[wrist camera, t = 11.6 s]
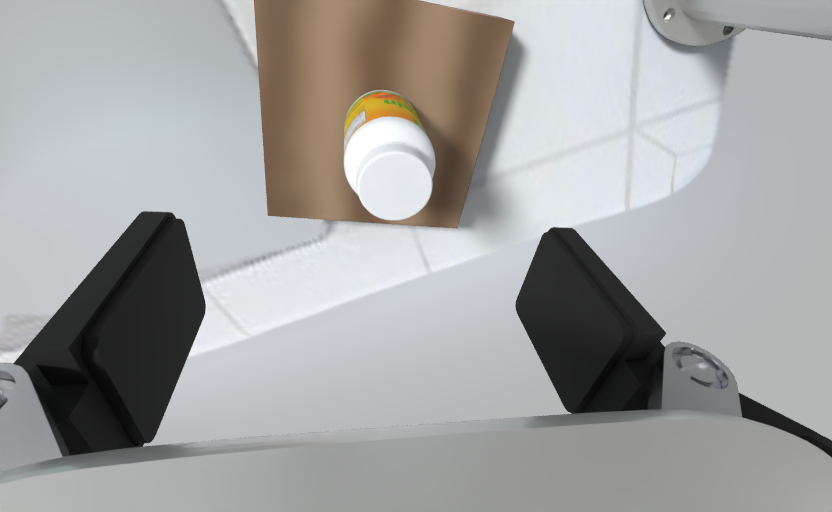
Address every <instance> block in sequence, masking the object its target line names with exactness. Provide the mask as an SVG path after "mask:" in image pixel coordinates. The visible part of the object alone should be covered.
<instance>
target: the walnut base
mask: <svg viewBox="0 0 832 512" xmlns="http://www.w3.org/2000/svg"><path fill="white" fill-rule="evenodd" d="M254 8H255V24H256V39H257V55H258V70H259V86H260V101H261V115H262V132H263V146H264V162H265V177H266V193H267V209H268V216H280V217H296V218H311V219H325V220H340V221H355V222H370V223H384V224H399V225H414V226H429V227H444V228H458V224H459V220H460V217H461V213H462V210H463V206H464V202H465V199H466V195H467V192H468V188H469V184H470V181H471V177H472V174H473V170H474V166H475V163H476V159H477V156H478V152H479V149H480V145H481V141H482V138H483V134H484V131H485V127H486V123H487V120H488V116H489V113H490V109H491V105H492V102H493V98H494V95H495V91H496V87H497V84H498V80H499V77H500V73H501V70H502V66H503V62H504V59H505V55H506V52H507V48H508V44H509V41H510V37H511V34H512V30H513V26H514V23H515V22H514V21H511V20H508V19H504V18H501V17H496V16H491V15H487V14H482V13H477V12H472V11H467V10H462V9H458V8H453V7H448V6H443V5H438V4H433V3H428V2H424V1H419V0H254ZM375 90H388V91H392V92H395V93H398V94H400V95H401V96H403V97H404V98H405V99H407V100H408V101H409V102H410V104H411V105H412V106H413V108H414V109H415V111H416V113H417V115H418V117H419V119H420V121H421V123H422V126H423V128H424V130H425V132H426V134H427V136H428V138H429V140H430V142H431V144H432V147H433V150H434V154H435V171H434V175H433V178H432V182H433V187H432V193H431V196H430V198H429V200H428V202H427V204H426V205H425V206H424V207H423V208H422V209H421V210H420V211H419V212H418V213H416V214H415V215H413V216H411V217H409V218H406V219H403V220H384V219H381V218H379V217H376V216H374V215H373V214H371V213H370V212H369V211H368V210H367V209H366V208H365V207H364V206H363V204H362V203H361V201H360V199H359V196H358V195H357V194H356V193H355V191H354V190H353V189H352V187H351V186H350V184H349V182H348V180H347V178H346V174H345V170H344V127H345V119H346V116H347V113H348V111H349V109H350V107H351V106H352V105H353V103H354V102H355V101H356V100H357V99H358V98H359V97H361V96H362V95H364V94H366V93H368V92H371V91H375Z"/></svg>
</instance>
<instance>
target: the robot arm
mask: <svg viewBox="0 0 832 512" xmlns="http://www.w3.org/2000/svg"><path fill="white" fill-rule="evenodd" d="M644 5H645V9H646V11H647V14H648V16H649V19H650V21H651V23H652V24H653V25H654V27H655V28H656V30H657V31H658V32H659V33H660V34H662V35H663V36H664V37H666V38H667V39H669V40H671V41H674V42H677V43H680V44H686V45H691V46H702V45H710V44H714V43H718V42H721V41H724V40H726V39H728V38H730V37H733V36H735V35H737V34H739V33H740V32H742V31H743V30H745V29H746V28H748V29H754V30H761V31H768V32H775V33H782V34H790V35H797V36H805V37H811V38H818V39H825V40H832V0H644ZM205 308H206V305H205V299H204V295H203V292H202V288H201V284H200V280H199V276H198V273H197V269H196V265H195V261H194V258H193V254H192V250H191V246H190V242H189V239H188V235H187V231H186V227H185V224H184V222H183V220H182V219H176V218H175V216H174V215H173V213H170V212H141V213H140V214H139V215H138V216H137V218H136V219H135V220H134V221H133V222H132V223H131V225H130V226H129V227H128V228H127V229H126V231H125V232H124V233H123V234H122V235H121V236H120V238H119V239H118V240H117V241H116V242H115V244H114V245H113V246H112V247H111V248H110V249H109V251H108V252H107V253H106V254H105V255H104V257H103V258H102V259H101V260H100V261H99V262H98V264H97V265H96V266H95V267H94V268H93V270H92V271H91V272H90V273H89V274H88V275H87V277H86V278H85V279H84V280H83V281H82V283H81V284H80V285H79V286H78V288H77V289H76V290H75V291H74V292H73V293H72V294H71V296H70V297H69V298H68V299H67V301H66V302H65V303H64V304H63V305H62V306H61V308H60V309H59V310H58V311H57V312H56V313H55V315H54V316H53V317H52V318H51V319H50V320H49V322H48V323H47V324H46V325H45V326H44V328H43V329H42V330H41V331H40V332H39V333H38V335H37V336H36V337H35V338H34V339H33V341H32V342H31V343H30V344H29V345H28V346H27V348H26V349H25V351H24V352H23V353H22V354H21V355H20V356H19V358H18V359H17V360H16V361H15V362H14V364H12V363H0V512H832V441H831V440H830V439H828V438H826V437H823V436H821V435H820V434H818V433H817V432H815V431H813V430H811V429H809V428H807V427H805V426H803V425H801V424H799V423H797V422H795V421H793V420H791V419H789V418H787V417H785V416H784V415H782V414H780V413H778V412H776V411H774V410H772V409H770V408H768V407H766V406H764V405H762V404H760V403H758V402H756V401H754V400H752V399H750V398H748V397H746V396H744V395H742V394H740V393H738V387H737V382H736V380H735V377H734V376H733V374H732V372H731V371H730V370H729V368H728V367H727V366H726V365H725V364H724V363H722V361H720V360H719V359H718V358H717V357H715V356H714V355H712V354H711V353H710V352H708V351H706V350H704V349H702V348H700V347H698V346H695V345H693V344H689V343H685V342H672V343H670V344H668V345H667V346H666V347H664V346H663V345H662V343H661V342H660V341H661V340H662V338H663V337H664V336H665V334H666V332H665V331H664V330H663V329H662V328H661V327H660V325H659V324H658V323H657V322H656V321H655V320H654V319H653V318H652V316H651V315H650V314H649V313H648V312H647V311H646V310H645V309H644V308H643V306H642V305H641V304H640V303H639V302H638V301H637V300H636V299H635V298H634V296H633V295H632V294H631V293H630V292H629V291H628V289H627V288H626V287H625V286H624V285H623V284H622V283H621V282H620V280H619V279H618V278H617V277H616V276H615V275H614V274H613V273H612V271H611V270H610V269H609V268H608V267H607V266H606V265H605V263H604V262H603V261H602V260H601V259H600V258H599V257H598V256H597V254H596V253H595V252H594V251H593V250H592V249H591V248H590V247H589V245H588V244H587V243H586V242H585V241H584V240H583V239H582V238H581V236H580V235H579V234H578V233H577V232H576V231H575V230H574V229H573V228H556V227H553V228H551V229H550V230H549V231H548V232H546V233H544V234H543V235H542V237H541V240H540V243H539V245H538V247H537V250H536V252H535V255H534V257H533V260H532V262H531V265H530V268H529V270H528V273H527V275H526V277H525V280H524V283H523V285H522V287H521V290H520V293H519V295H518V297H517V300H516V311H517V314H518V316H519V318H520V320H521V322H522V324H523V326H524V328H525V330H526V332H527V334H528V336H529V338H530V340H531V342H532V344H533V345H534V348H535V350H536V351H537V354H538V356H539V357H540V360H541V361H542V363H543V366H544V367H545V370H546V371H547V373H548V375H549V377H550V379H551V381H552V383H553V385H554V387H555V389H556V391H557V393H558V395H559V397H560V399H561V401H562V403H563V405H564V407H565V409H566V410H567V411H568V412H570V413H572V414H566V415H565V414H564V415H549V416H534V417H520V418H505V419H490V420H476V421H462V422H448V423H435V424H434V423H433V424H420V425H406V426H394V427H393V426H392V427H379V428H365V429H351V430H339V431H325V432H313V433H300V434H287V435H274V436H260V437H248V438H235V439H222V440H211V441H201V442H190V443H179V444H169V445H158V446H146V447H143V445H144V443H150V442H151V441H152V440H153V439H154V437H155V435H156V433H157V430H158V428H159V425H160V423H161V421H162V418H163V416H164V413H165V411H166V408H167V406H168V403H169V401H170V399H171V396H172V393H173V391H174V389H175V386H176V384H177V381H178V379H179V377H180V374H181V371H182V369H183V367H184V364H185V362H186V359H187V357H188V354H189V352H190V350H191V347H192V345H193V342H194V340H195V337H196V335H197V332H198V330H199V327H200V325H201V323H202V320H203V318H204V315H205Z"/></svg>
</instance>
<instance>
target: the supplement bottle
mask: <svg viewBox="0 0 832 512" xmlns="http://www.w3.org/2000/svg"><path fill="white" fill-rule="evenodd" d="M344 170H345V174H346V178H347V180H348V182H349V184H350V186H351V187H352V189H353V190H354V191H355V193H356V194H357V195H358V196H359V199H360V201H361V203H362V204H363V206H364V207H365V208H366V209H367V210H368V211H369V212H370V213H371V214H373V215H374V216H376V217H379V218H381V219H384V220H403V219H406V218H409V217H411V216H413V215H415V214H416V213H418V212H419V211H420V210H421V209H422V208H423V207H424V206H425V205H426V204H427V202H428V200H429V198H430V196H431V193H432V187H433V182H432V178H433V175H434V171H435V154H434V150H433V147H432V144H431V142H430V140H429V138H428V136H427V134H426V132H425V130H424V128H423V126H422V123H421V121H420V119H419V117H418V115H417V113H416V111H415V109H414V108H413V106H412V105H411V104H410V102H409V101H408V100H407V99H405V98H404V97H403V96H401V95H400V94H398V93H395V92H392V91H388V90H375V91H371V92H368V93H366V94H364V95H362V96H361V97H359V98H358V99H357V100H356V101H355V102H354V103H353V105H352V106H351V107H350V109H349V111H348V113H347V116H346V119H345V127H344Z"/></svg>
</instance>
